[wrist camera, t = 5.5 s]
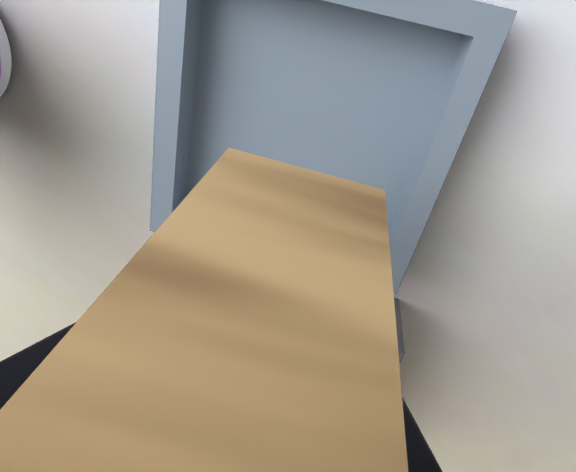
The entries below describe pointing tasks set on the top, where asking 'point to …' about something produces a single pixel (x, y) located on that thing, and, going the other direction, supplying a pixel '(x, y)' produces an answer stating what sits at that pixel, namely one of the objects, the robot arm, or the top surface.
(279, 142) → the tray
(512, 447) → the top surface
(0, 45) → the supplement bottle
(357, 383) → the peg
